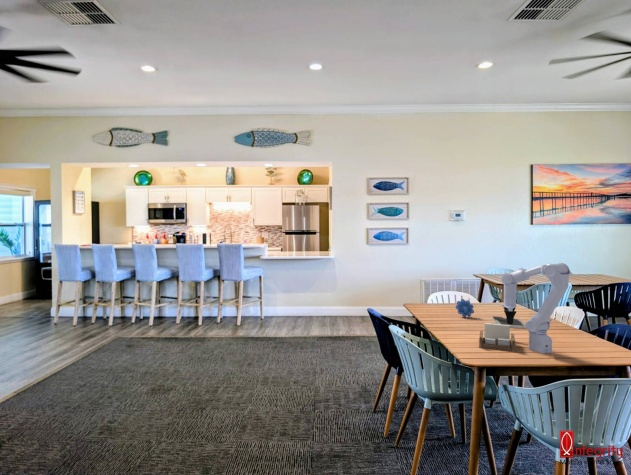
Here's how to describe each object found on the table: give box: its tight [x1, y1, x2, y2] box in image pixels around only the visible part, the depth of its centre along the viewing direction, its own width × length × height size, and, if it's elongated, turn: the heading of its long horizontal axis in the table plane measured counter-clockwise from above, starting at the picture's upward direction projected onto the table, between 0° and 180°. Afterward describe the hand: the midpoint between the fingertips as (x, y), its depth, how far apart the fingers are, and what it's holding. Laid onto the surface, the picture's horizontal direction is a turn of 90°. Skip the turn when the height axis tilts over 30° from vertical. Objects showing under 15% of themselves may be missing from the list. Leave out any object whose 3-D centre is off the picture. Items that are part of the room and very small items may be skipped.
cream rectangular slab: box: [483, 322, 511, 340], centre depth 209 cm, size 2×12×8 cm, turn 66°
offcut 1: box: [485, 338, 495, 344], centre depth 194 cm, size 2×4×4 cm, turn 66°
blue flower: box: [455, 298, 475, 318], centre depth 263 cm, size 12×7×12 cm, turn 78°
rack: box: [478, 330, 516, 353], centre depth 201 cm, size 24×16×6 cm, turn 156°
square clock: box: [492, 315, 527, 330], centre depth 245 cm, size 16×3×21 cm
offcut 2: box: [498, 338, 511, 346], centre depth 192 cm, size 2×5×4 cm, turn 66°
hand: (509, 322), depth 205 cm, fingers open, 7 cm apart
